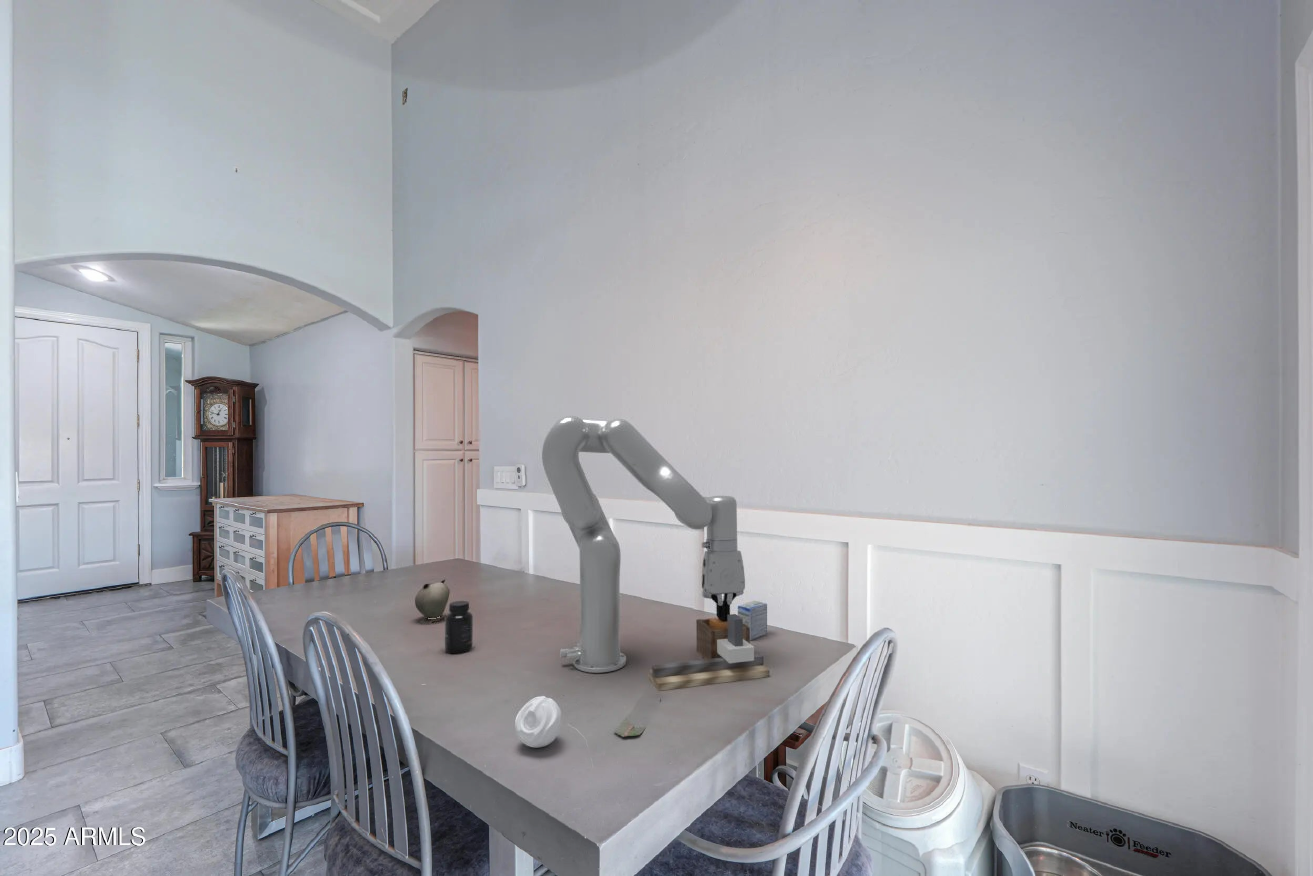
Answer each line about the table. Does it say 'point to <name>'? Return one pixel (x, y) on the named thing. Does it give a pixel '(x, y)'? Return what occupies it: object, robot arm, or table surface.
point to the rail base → (705, 672)
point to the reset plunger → (717, 624)
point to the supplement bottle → (458, 628)
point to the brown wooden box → (713, 638)
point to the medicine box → (754, 617)
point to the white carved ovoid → (538, 722)
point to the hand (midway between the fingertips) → (723, 620)
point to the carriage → (735, 642)
